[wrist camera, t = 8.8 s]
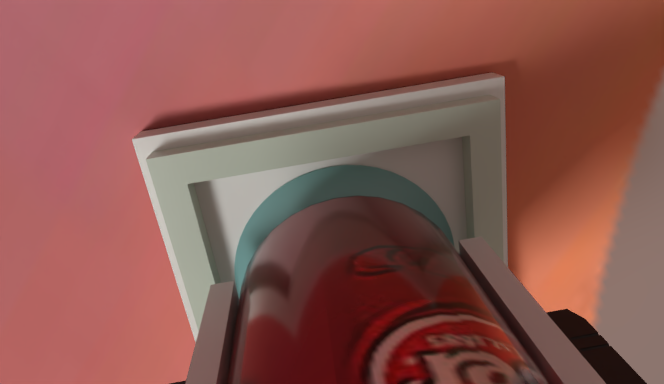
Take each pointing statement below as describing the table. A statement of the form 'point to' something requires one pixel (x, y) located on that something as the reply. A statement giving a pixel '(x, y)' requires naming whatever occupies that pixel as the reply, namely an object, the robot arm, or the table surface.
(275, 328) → the soda can
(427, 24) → the table surface
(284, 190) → the base plate
